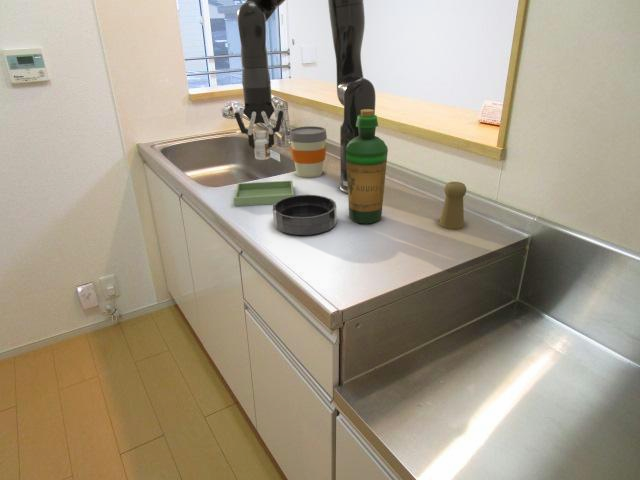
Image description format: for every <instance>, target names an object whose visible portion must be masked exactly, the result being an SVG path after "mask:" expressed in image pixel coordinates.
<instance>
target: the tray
mask: <svg viewBox="0 0 640 480" xmlns="http://www.w3.org/2000/svg"><path fill="white" fill-rule="evenodd" d="M291 196H295V193H294V181H293V180H279V181H258V182H240V183H239V182H238V183H237V184H236V189H235V193H234V196H233V201H234V207H244V206H246V207H247V206H261V205H263V206H264V205H274V204H275V203H276V202H277V201H279V200H281V199H284V198H287V197H291Z"/></svg>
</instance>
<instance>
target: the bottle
mask: <svg viewBox="0 0 640 480" xmlns="http://www.w3.org/2000/svg"><path fill="white" fill-rule="evenodd" d="M373 114H374V110H372V109H364V110H361V115H358V117H357V122H356V126H357V127H358V131H359V136H357V137H355V138H354V139H352V140H351V141H350V142H349V143H348V145H347V146H346V167H347V184H348V193H347V202H348V217H349V220H351V221H353V222H354V223H358V224H368V225H369V224H373V223H376V222H378V221H380V220H381V219H382V216H383V215H382V214H383V204H384V193H385V184H386V183H385V182H386V174H387V162H388V152H389V149H388V148H389V147H388V145H387V144H386V143H385V141H384V140H383V139H382V138H380V137H379V136H376V128H377V127H379V122H378V116H377V114H375V115H373Z"/></svg>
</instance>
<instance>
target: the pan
mask: <svg viewBox="0 0 640 480" xmlns="http://www.w3.org/2000/svg"><path fill="white" fill-rule="evenodd" d="M337 211H338V210H337V204H336V201H334V200H333V199H332V198H330V197H327V196H323V195H317V194H297V195H294V196H291V197H287V198H284V199H281V200H279V201H277V202H276V203H275V204H272V214H273V216H272V217H273V226H274V227H275V229H276V230H278V231H280V232H282V233H284V234H289V235H298V236H309V235H317V234H321V233H324V232H328V231H329V230H331V229H332V228H334V227H335V226H336V224H337V222H338V221H337V220H338V219H337V217H338V215H337V214H338V213H337Z"/></svg>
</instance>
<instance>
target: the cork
mask: <svg viewBox="0 0 640 480" xmlns="http://www.w3.org/2000/svg"><path fill="white" fill-rule="evenodd" d="M466 194H467V186H466V184H465V183H463V182H460V181H449V182H447V183H446V184H445V186H444V195H445V197H444V201H443V206H442V210H441V213H440V214H441V215H440V219H439V226H440V227H442V228H444V229H448V230H459V229H462V228H464V226H465V218H464V215H465V214H464V213H465V211H464V196H466Z"/></svg>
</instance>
